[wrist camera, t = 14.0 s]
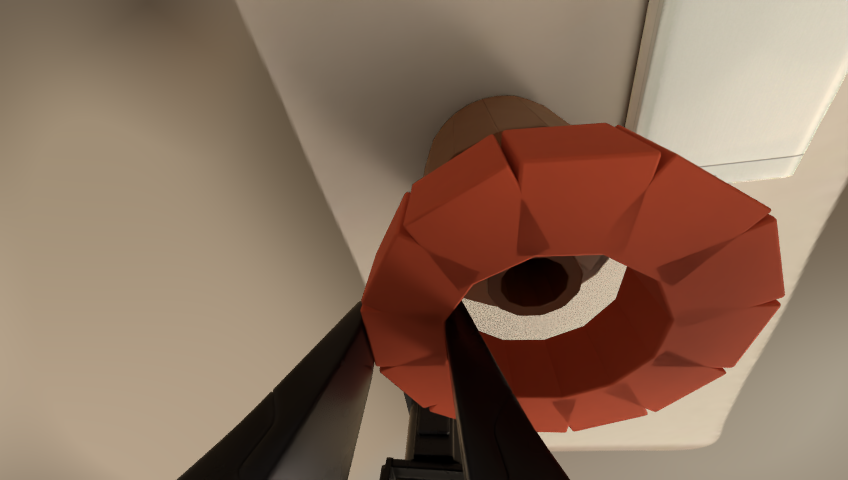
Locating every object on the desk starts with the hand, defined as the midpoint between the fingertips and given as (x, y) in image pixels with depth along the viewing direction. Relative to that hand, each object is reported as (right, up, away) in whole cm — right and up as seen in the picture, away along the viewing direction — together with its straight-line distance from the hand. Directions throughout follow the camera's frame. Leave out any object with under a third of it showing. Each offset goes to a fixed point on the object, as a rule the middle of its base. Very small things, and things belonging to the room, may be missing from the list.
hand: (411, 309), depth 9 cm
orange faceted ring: (+4, +1, +1) cm, 4 cm away
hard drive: (+14, +11, +5) cm, 19 cm away
